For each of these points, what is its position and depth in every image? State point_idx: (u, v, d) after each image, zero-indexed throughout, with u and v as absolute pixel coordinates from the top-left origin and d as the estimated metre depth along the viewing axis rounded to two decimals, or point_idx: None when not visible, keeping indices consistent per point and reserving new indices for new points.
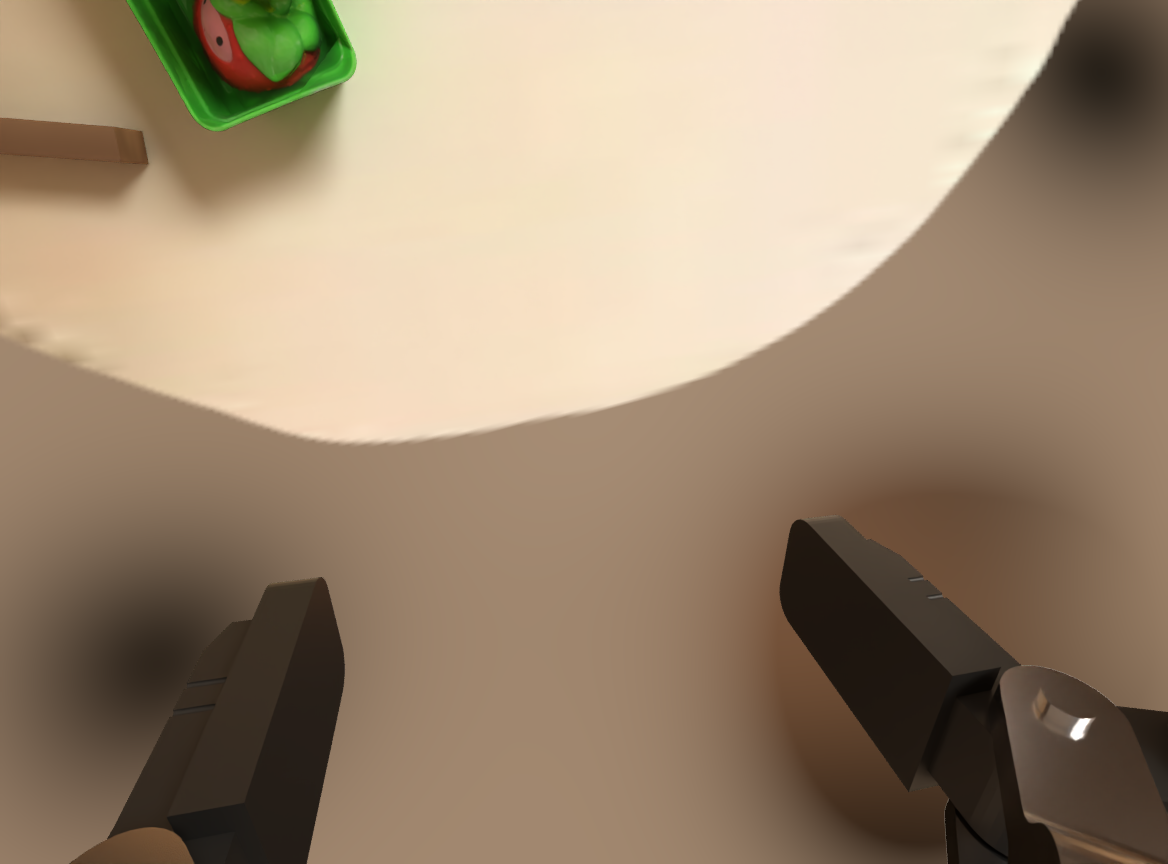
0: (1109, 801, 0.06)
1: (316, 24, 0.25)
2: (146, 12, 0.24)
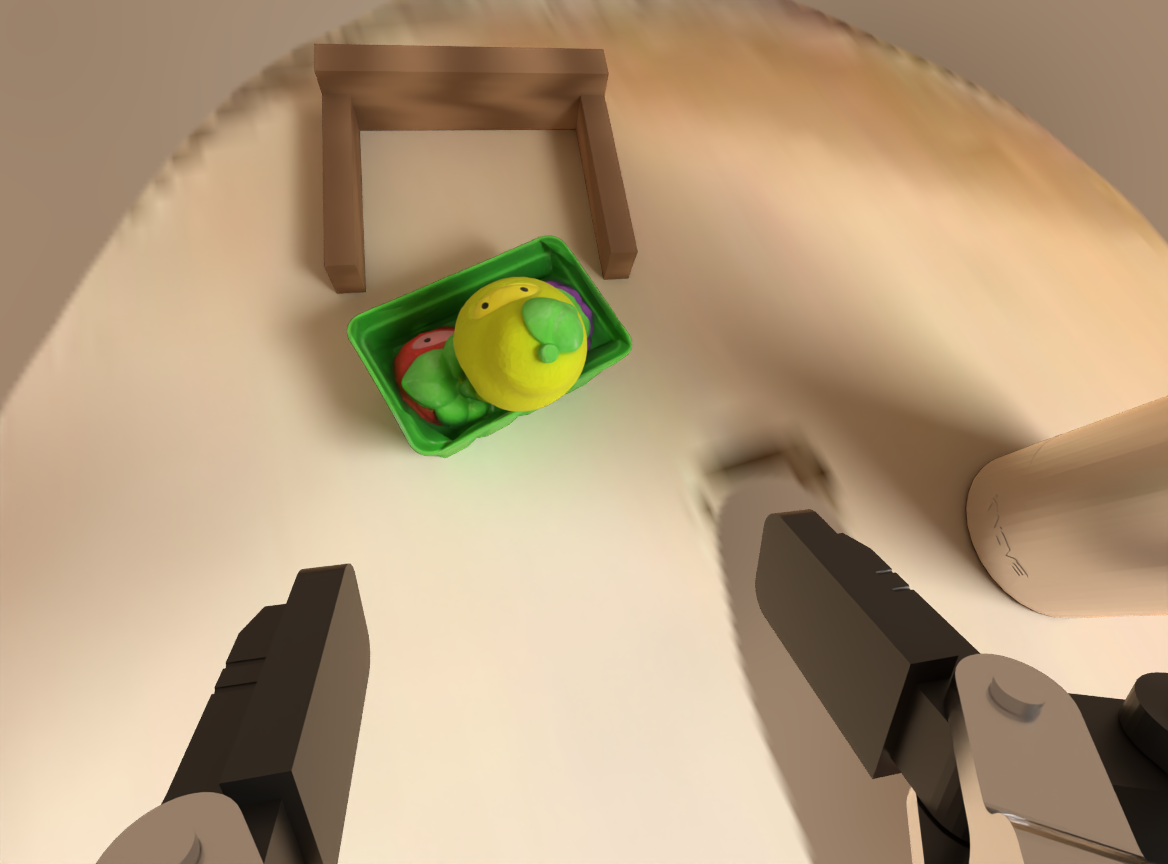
0: (1062, 783, 0.06)
1: (460, 420, 0.26)
2: (442, 291, 0.28)
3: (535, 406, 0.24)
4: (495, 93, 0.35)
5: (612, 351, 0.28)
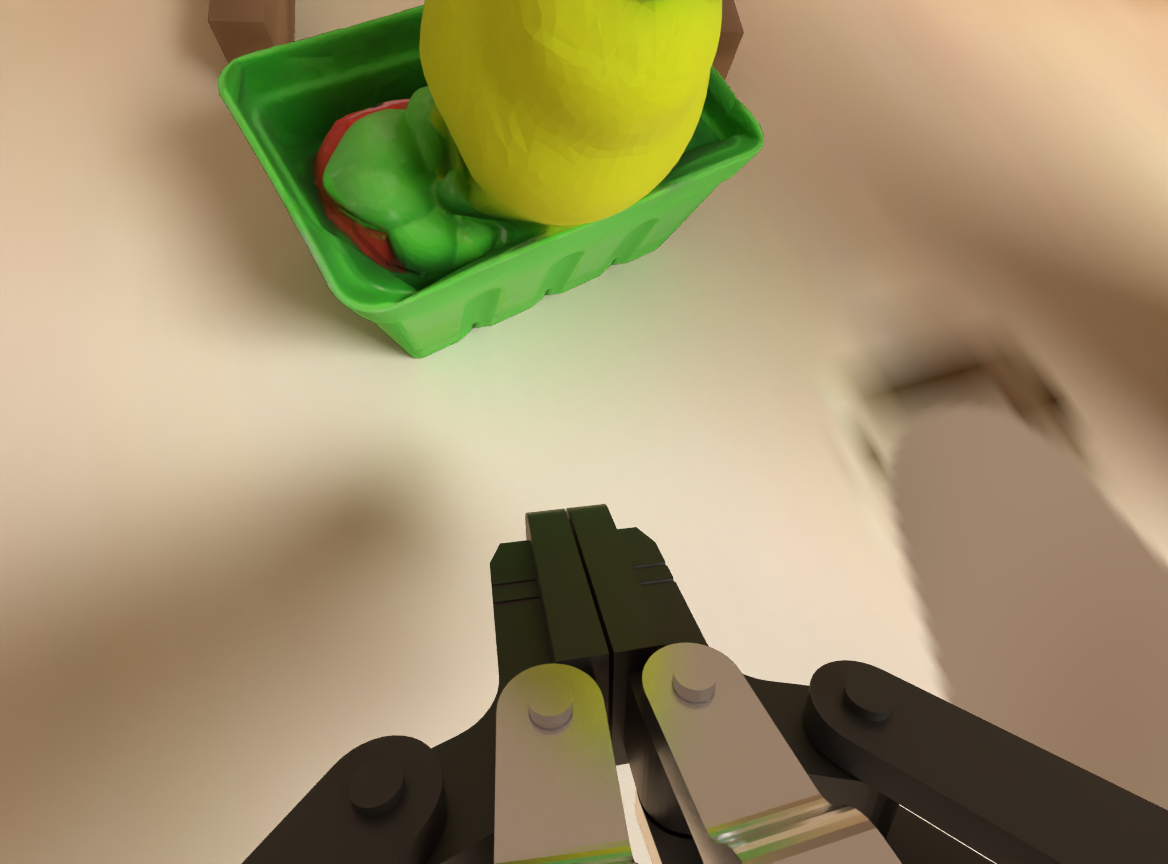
0: (752, 759, 0.06)
1: (441, 260, 0.13)
2: (412, 41, 0.15)
3: (598, 193, 0.11)
4: None
5: (727, 148, 0.15)
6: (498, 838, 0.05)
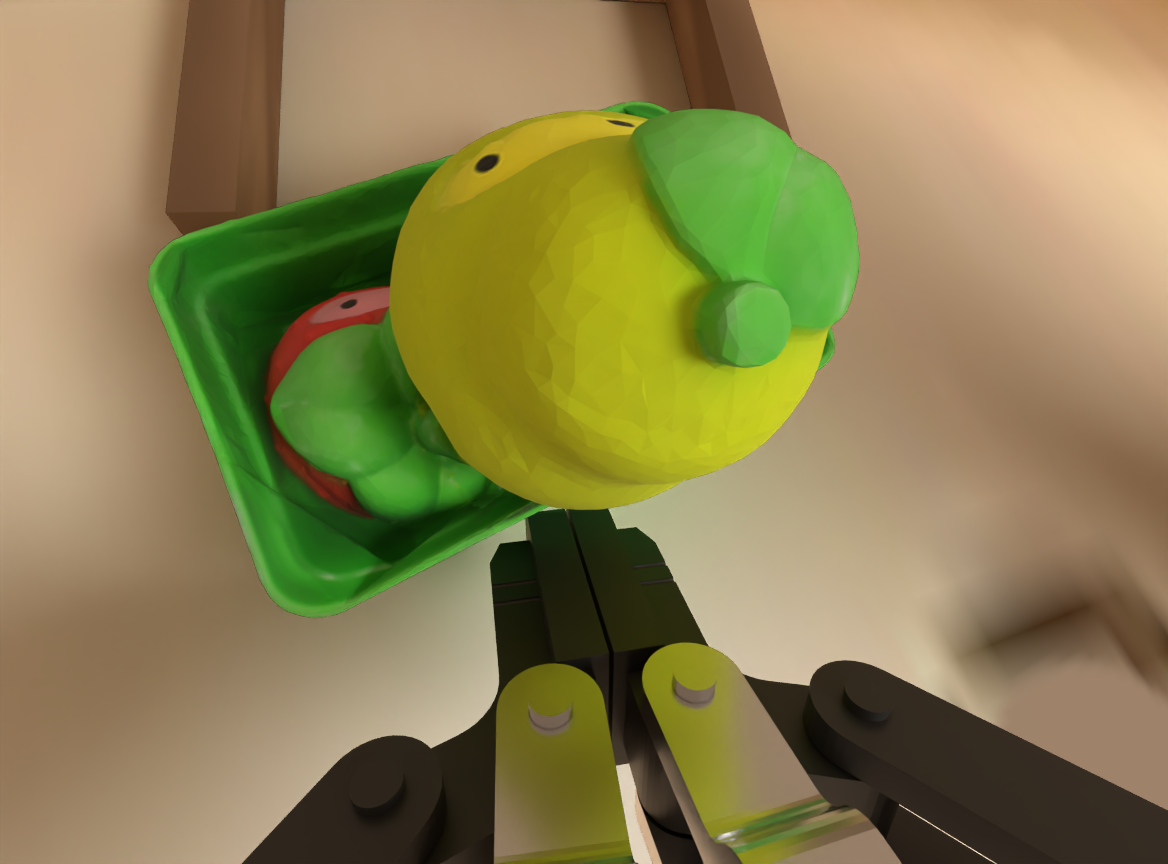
0: (752, 759, 0.06)
1: (417, 511, 0.10)
2: (403, 203, 0.12)
3: (627, 502, 0.08)
4: None
5: None
6: (499, 838, 0.05)
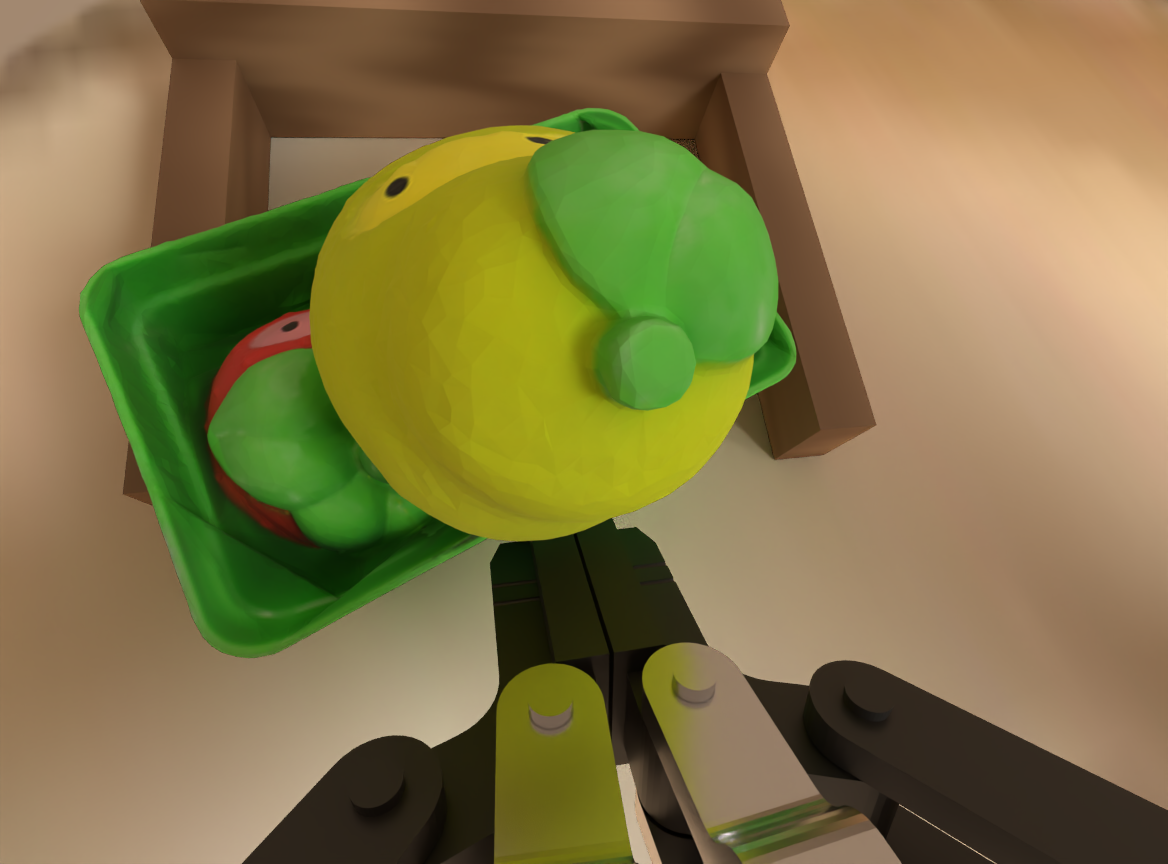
0: (752, 758, 0.06)
1: (363, 540, 0.10)
2: None
3: (566, 534, 0.07)
4: (550, 63, 0.17)
5: None
6: (498, 836, 0.05)
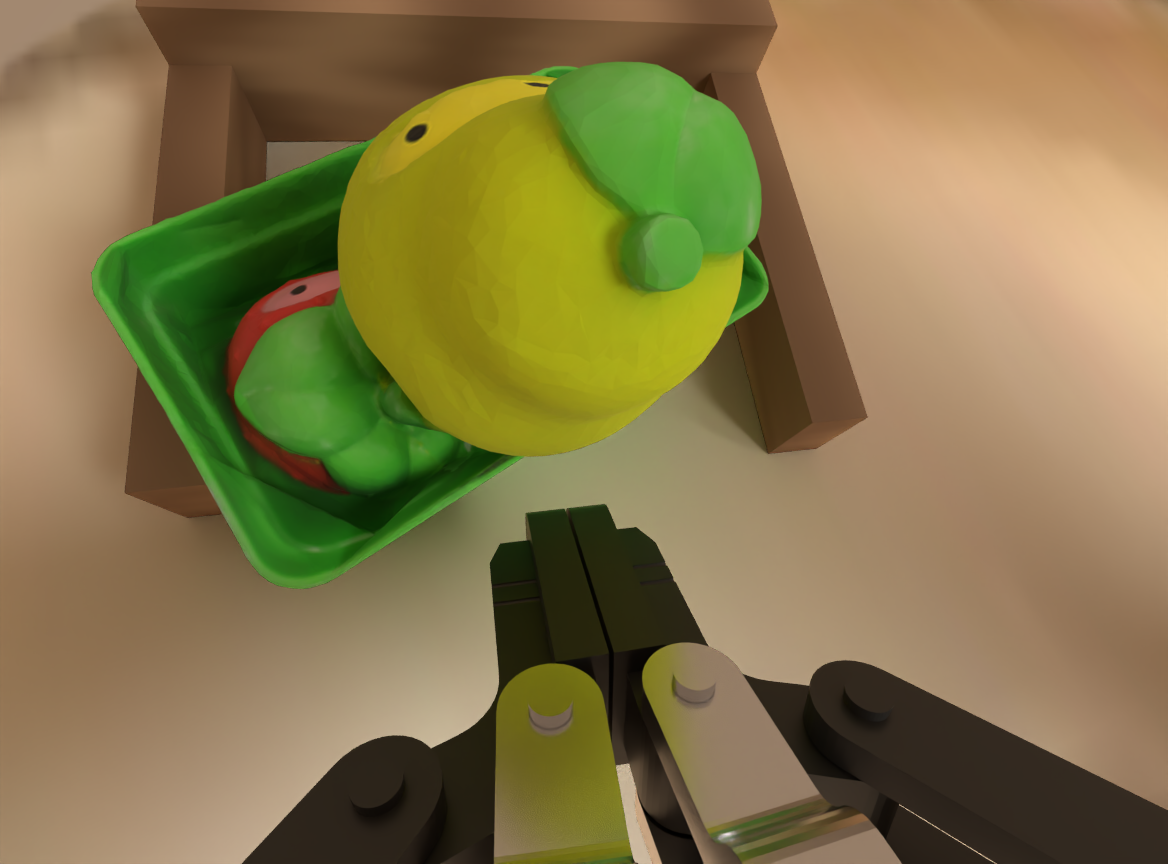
0: (752, 759, 0.06)
1: (391, 481, 0.11)
2: (339, 187, 0.12)
3: (586, 442, 0.08)
4: (541, 65, 0.17)
5: None
6: (499, 837, 0.05)
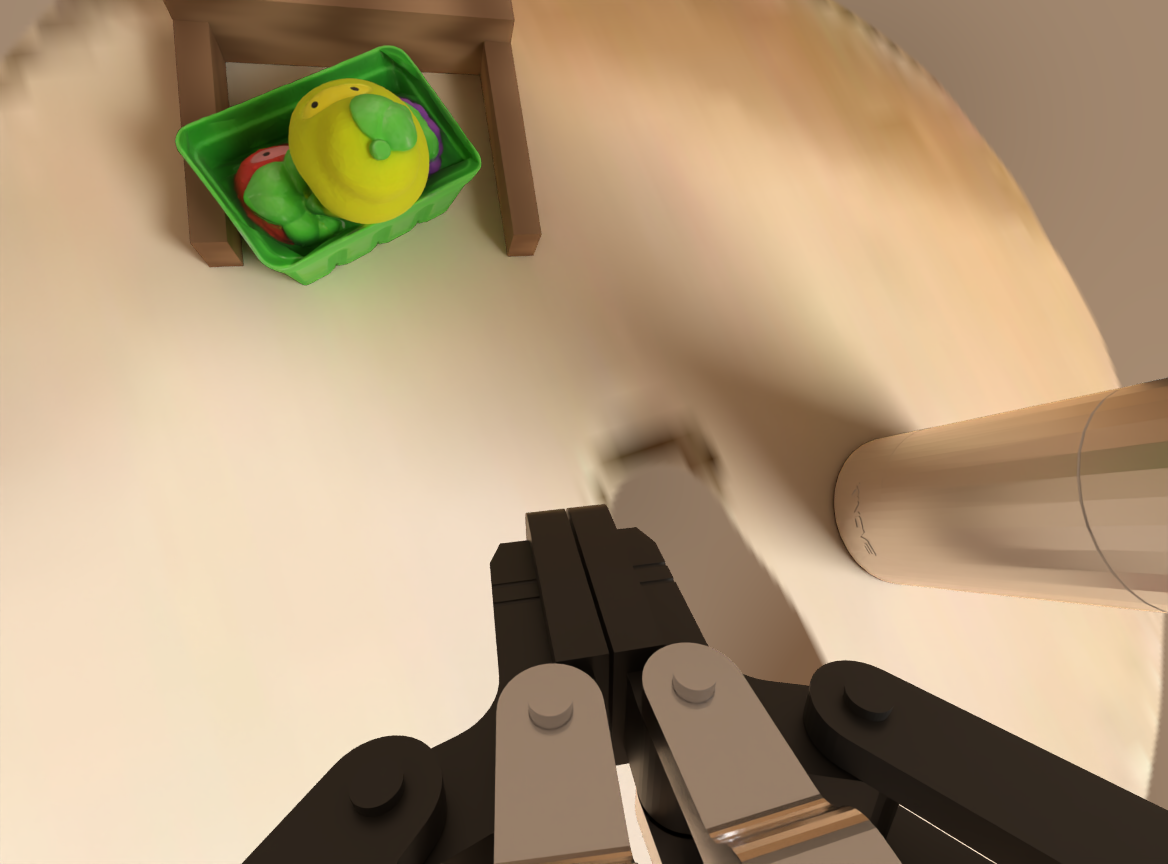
0: (752, 758, 0.06)
1: (311, 238, 0.26)
2: (279, 104, 0.27)
3: (381, 215, 0.24)
4: (385, 31, 0.31)
5: (462, 169, 0.28)
6: (498, 837, 0.05)
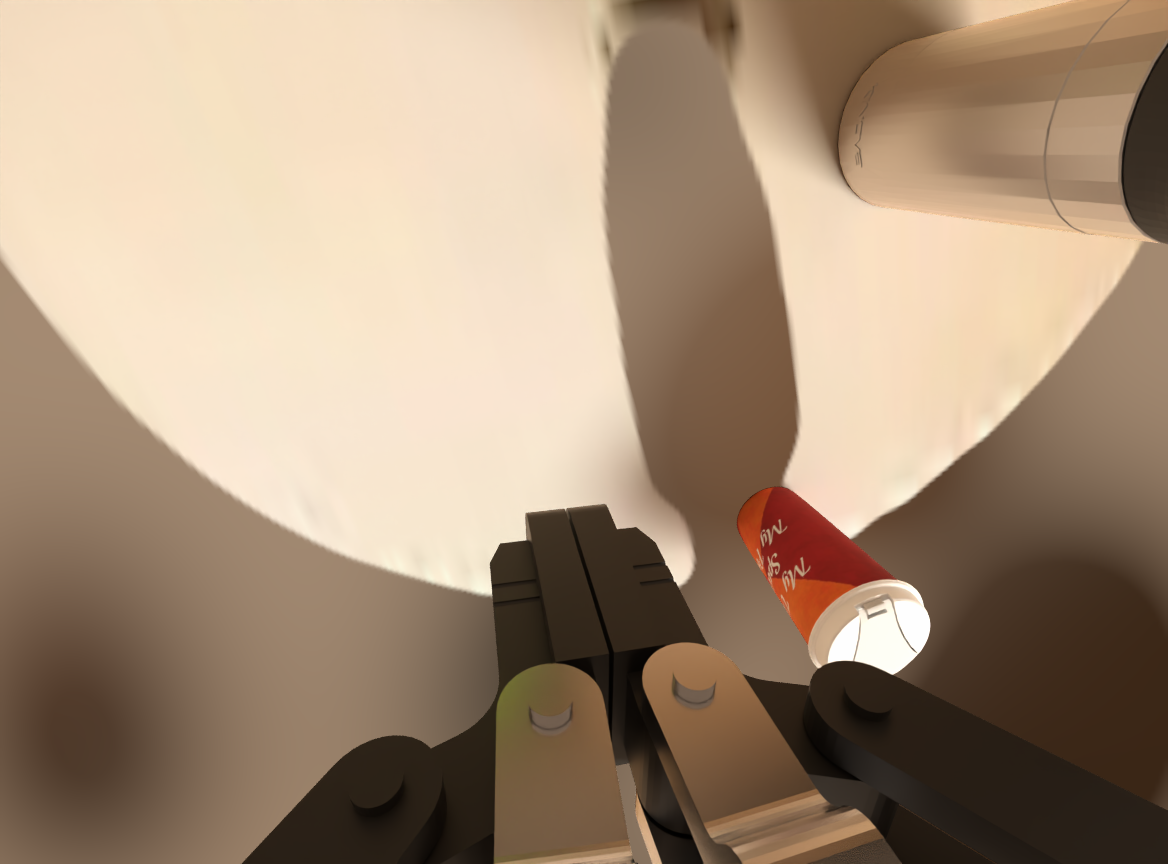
0: (752, 759, 0.06)
1: None
2: None
3: None
4: None
5: None
6: (498, 838, 0.05)
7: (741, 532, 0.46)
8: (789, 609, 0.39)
